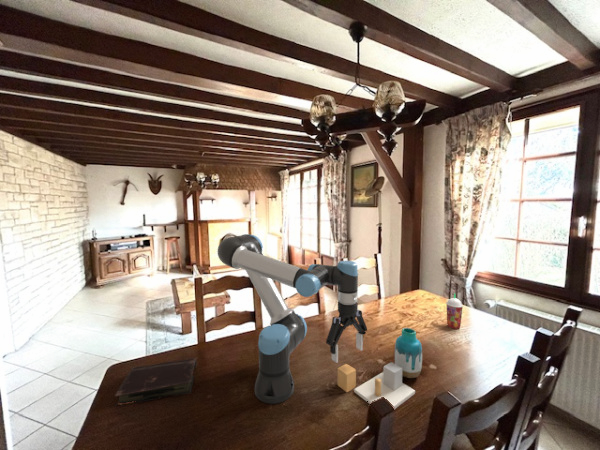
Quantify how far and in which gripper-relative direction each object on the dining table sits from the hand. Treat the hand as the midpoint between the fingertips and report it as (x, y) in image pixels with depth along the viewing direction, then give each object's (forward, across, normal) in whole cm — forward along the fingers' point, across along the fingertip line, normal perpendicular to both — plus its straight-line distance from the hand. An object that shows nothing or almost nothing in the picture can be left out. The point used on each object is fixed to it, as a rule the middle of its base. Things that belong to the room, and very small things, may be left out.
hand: (347, 354), depth 101 cm
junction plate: (+13, +9, -11) cm, 19 cm away
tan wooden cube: (+13, 0, 0) cm, 13 cm away
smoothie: (+13, +88, -1) cm, 89 cm away
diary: (+13, -60, +44) cm, 75 cm away
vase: (+13, +26, -10) cm, 31 cm away
